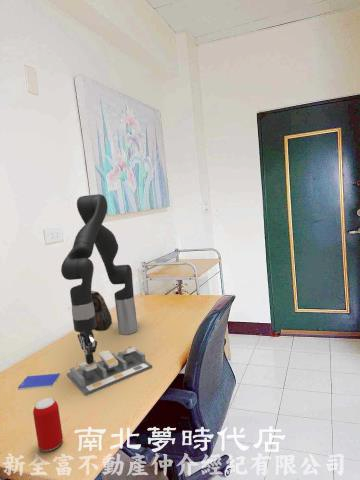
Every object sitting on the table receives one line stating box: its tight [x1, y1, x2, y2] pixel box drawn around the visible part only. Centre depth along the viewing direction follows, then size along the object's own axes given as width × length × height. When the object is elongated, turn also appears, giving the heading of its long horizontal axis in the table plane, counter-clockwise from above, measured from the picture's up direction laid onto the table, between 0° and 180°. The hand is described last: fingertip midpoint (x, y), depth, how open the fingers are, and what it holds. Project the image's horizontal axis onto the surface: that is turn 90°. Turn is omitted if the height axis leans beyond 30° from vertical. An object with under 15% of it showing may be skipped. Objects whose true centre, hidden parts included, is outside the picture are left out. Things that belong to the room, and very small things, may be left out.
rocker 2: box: [117, 346, 136, 356], centre depth 134 cm, size 9×4×2 cm, turn 36°
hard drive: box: [17, 373, 61, 391], centre depth 127 cm, size 2×8×12 cm
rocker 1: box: [77, 361, 97, 371], centre depth 124 cm, size 9×4×2 cm, turn 36°
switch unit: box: [66, 346, 153, 396], centre depth 129 cm, size 19×26×4 cm
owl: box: [91, 290, 113, 332], centre depth 180 cm, size 13×13×20 cm
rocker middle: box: [98, 349, 118, 368], centre depth 129 cm, size 9×4×2 cm, turn 36°
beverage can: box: [32, 397, 64, 452], centre depth 91 cm, size 6×6×12 cm
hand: (90, 363), depth 121 cm, fingers closed
